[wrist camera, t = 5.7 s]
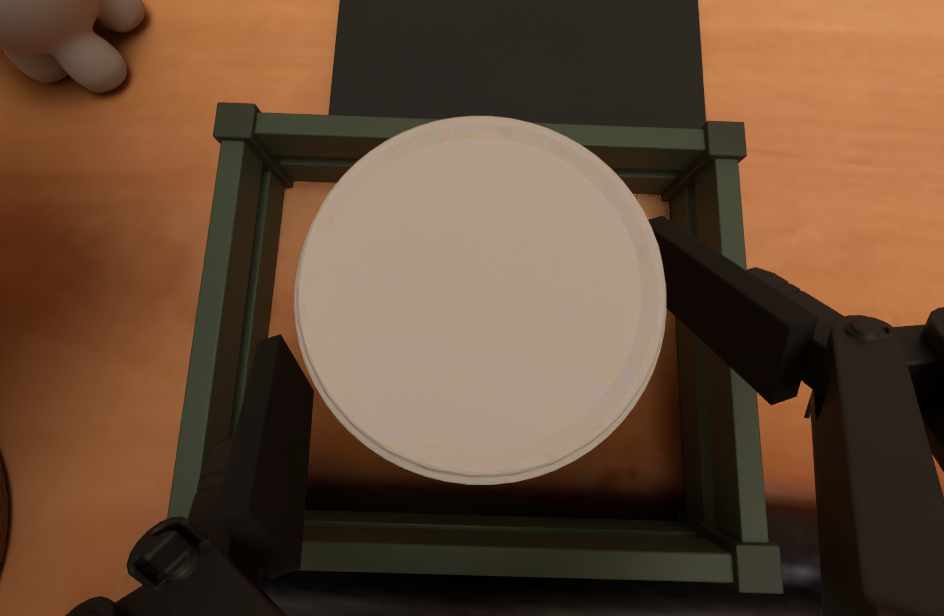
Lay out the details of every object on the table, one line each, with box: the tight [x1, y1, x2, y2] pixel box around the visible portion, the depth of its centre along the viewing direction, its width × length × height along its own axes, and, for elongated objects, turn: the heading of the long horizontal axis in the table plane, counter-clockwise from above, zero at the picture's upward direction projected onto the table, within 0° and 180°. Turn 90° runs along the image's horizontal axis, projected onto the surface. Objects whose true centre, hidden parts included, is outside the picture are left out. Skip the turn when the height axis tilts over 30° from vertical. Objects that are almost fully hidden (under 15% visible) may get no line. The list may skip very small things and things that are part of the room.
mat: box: [329, 0, 706, 129], centre depth 25 cm, size 20×12×1 cm, turn 88°
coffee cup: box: [294, 116, 666, 485], centre depth 17 cm, size 9×9×12 cm
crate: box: [167, 102, 783, 594], centre depth 20 cm, size 22×18×5 cm
